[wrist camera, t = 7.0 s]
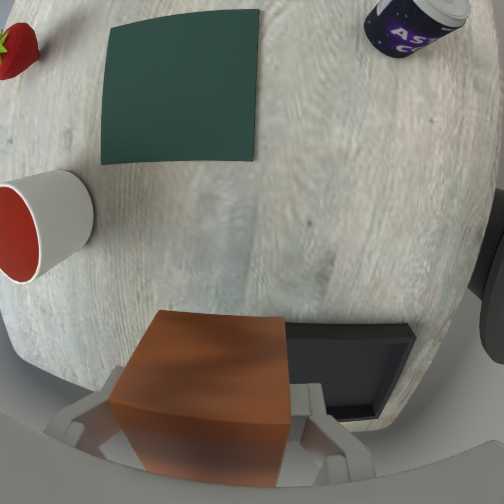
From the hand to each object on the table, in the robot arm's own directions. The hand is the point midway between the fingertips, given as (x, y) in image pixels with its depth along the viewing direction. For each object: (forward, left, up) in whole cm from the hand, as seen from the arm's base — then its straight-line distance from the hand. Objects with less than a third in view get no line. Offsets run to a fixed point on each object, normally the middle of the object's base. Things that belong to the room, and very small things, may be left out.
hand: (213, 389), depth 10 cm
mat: (+8, -15, -20) cm, 26 cm away
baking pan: (-10, +18, -20) cm, 28 cm away
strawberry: (+28, -23, -20) cm, 41 cm away
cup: (+22, -2, -20) cm, 30 cm away
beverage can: (-13, -22, -20) cm, 33 cm away
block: (0, 0, -2) cm, 2 cm away
